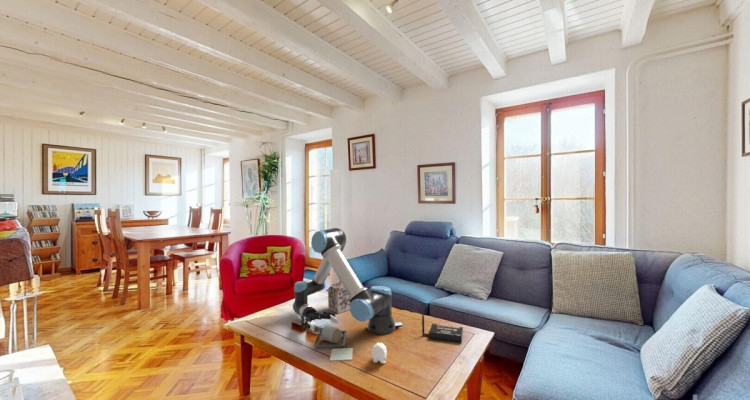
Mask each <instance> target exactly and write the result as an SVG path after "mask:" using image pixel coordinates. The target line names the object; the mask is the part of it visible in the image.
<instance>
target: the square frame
mask: <svg viewBox="0 0 750 400" xmlns="http://www.w3.org/2000/svg"><path fill="white" fill-rule="evenodd" d="M341 332H342V334H343V338H342V343H340V344H339V343H334V344H320V343H321V340H322V330H321V331H320V332H319V335H318V338H317V341H316V344H315V350H330V349H331V350H332V349H341V348H346V340H347V334H348V333H347V330H341Z"/></svg>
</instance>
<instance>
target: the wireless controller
mask: <svg viewBox="0 0 750 400" xmlns="http://www.w3.org/2000/svg"><path fill="white" fill-rule="evenodd" d="M421 306H422V309H421V311H422V313H421V331H422V332H421V335H422V337H428V339H429V340H435V341H443V342H450V343H458V344H463V343H462V342H463V336H464V327H462V326H459V327H456V326H445V325H441V324H436V323H432V324H431V326H430V328H429V331H428V333H426V332H425V313H424V303H422V305H421Z"/></svg>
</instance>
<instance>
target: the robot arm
mask: <svg viewBox="0 0 750 400" xmlns="http://www.w3.org/2000/svg"><path fill="white" fill-rule="evenodd" d="M310 243H311V244H310V245H311V248H312V250H313V251H314V252H315V253H317V254H321V257H322V259H321V262H320V264H319V266H318V268H317V270H316V272H315V274H314V276H313V278H312V280H311V281H308V282H307V281H305V280H301V281H296V282H295V283H294V287H293V291H294V301H293V304H292V310H293V311H294V312H295V313H296V314H297V315H299V317H300V326H301V328H302V329H303V328H304V329H306V330H307V329H309V330H311V331H312V332H315V325H314V324H313V323H312V320H313V321H315V320H316V319H317V320H329V321H331V322H332V323H333V324H335V325H337V324H338V318H337V317H336V312H330V311H326V310H321V311H320V312H319V311H317V309H316V308H314V307H313V306H311V305H310V304H309V302H308V300H309V299H308V297H309V296H310V295H311V296H312V295H313V294H315V293H319V292H321V291H323V290H325V288H327V287H326V280H327V278H328V276H329V274H330V273H331V271H332V269H333V271H334V272H335V274H336V276H337V278H338V279H339V281H341V283H342V284H343V286H344V288H345V289H346V291H347V293H348V294H349V296H350V297H349V302H350V303H351V304H350V310H349V312H350V315H351V316H352V317H353V319H355V321H359V322H363V323H364V322H366V321H368V322H367V330H368V332H369V333H371V334H374V335H388V334H391V333H393V332H395V330H396V322H395V320H394V317H393V313H392V311H393V310H392V308H393V307H392V305H393V304H392V303H393V302H392V301H393V300H392V296H393V295H392V290H391V288H390V287H388V286H384V285H373V286H370V288H368V287H365V286H364V285H363V284H362V282H361V281H360V279H359V277H358V276H357V274H356V273H355V271H354V269H353V268H352V266H351V264H350V263H349V262H348V260H347V258H346V257H345V255H344V254H343V251H344V249H345V246H346V244H347V236H346V233H345V232H344V231H343V230H342V229H341V228H337V227H333V228H328V229H321V230H318V231H316V232H314V234H313V235H312V237H311V242H310Z"/></svg>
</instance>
